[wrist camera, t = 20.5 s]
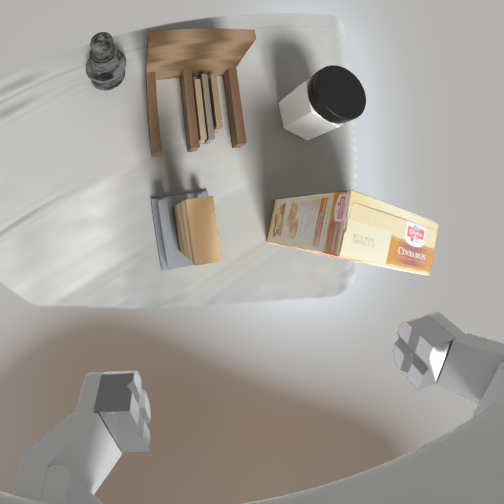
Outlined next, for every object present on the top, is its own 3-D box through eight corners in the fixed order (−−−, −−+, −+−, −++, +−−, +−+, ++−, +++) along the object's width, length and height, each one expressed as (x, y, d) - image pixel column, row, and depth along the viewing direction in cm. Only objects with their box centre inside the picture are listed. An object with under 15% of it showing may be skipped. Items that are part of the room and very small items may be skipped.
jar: (304, 83, 48) (343, 55, 37) (333, 121, 50) (377, 102, 39) (267, 108, 47) (301, 80, 35) (298, 149, 49) (340, 131, 38)
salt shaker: (112, 52, 38) (107, 8, 27) (134, 75, 40) (134, 33, 28) (81, 75, 37) (67, 36, 26) (103, 99, 39) (92, 63, 27)
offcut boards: (196, 144, 44) (200, 138, 40) (190, 82, 42) (193, 73, 39) (218, 142, 45) (224, 136, 41) (211, 81, 43) (216, 72, 40)
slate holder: (161, 270, 44) (163, 274, 41) (151, 199, 43) (151, 197, 39) (216, 260, 46) (222, 263, 43) (206, 191, 45) (211, 188, 42)
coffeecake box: (265, 243, 49) (337, 258, 30) (274, 197, 48) (350, 186, 30) (345, 259, 54) (431, 277, 35) (352, 219, 53) (440, 221, 35)
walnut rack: (151, 156, 42) (154, 134, 31) (145, 73, 40) (148, 31, 29) (240, 147, 46) (270, 125, 35) (229, 68, 44) (254, 29, 33)
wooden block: (178, 249, 44) (195, 265, 29) (172, 207, 43) (185, 199, 28) (195, 246, 45) (221, 260, 30) (189, 204, 44) (212, 195, 29)
